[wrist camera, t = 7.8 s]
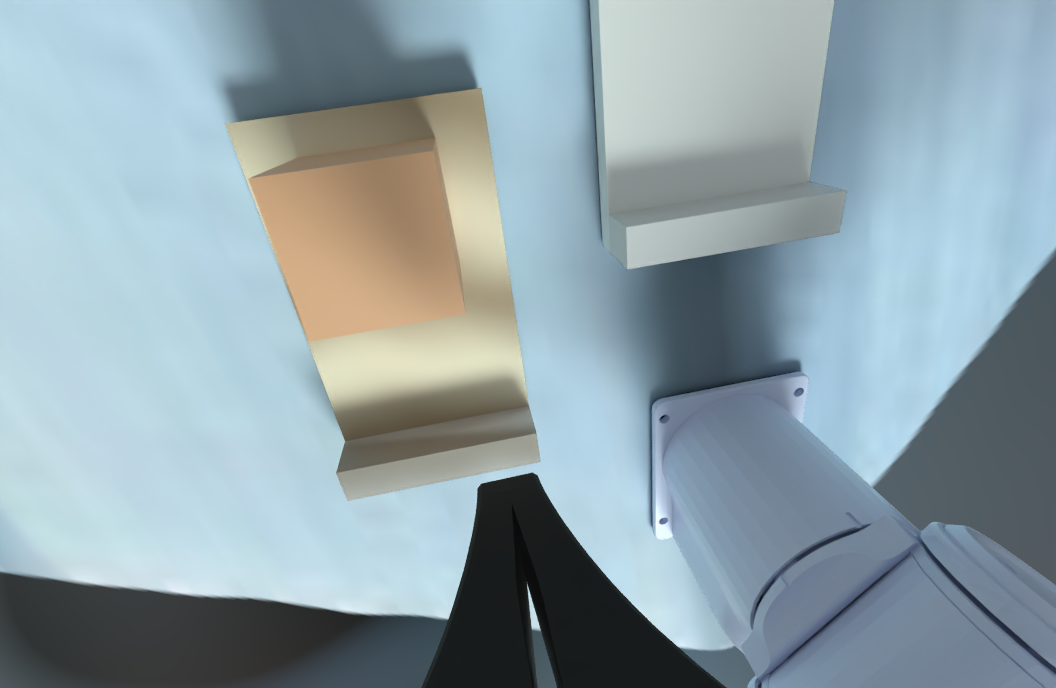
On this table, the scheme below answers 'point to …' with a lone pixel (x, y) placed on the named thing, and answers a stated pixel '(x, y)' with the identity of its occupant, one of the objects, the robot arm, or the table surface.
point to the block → (364, 237)
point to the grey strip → (709, 125)
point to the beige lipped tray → (425, 347)
